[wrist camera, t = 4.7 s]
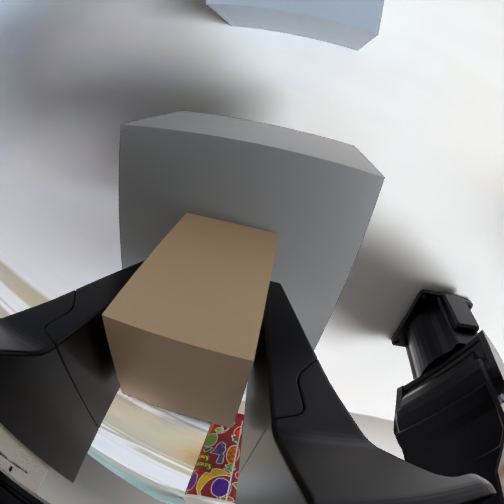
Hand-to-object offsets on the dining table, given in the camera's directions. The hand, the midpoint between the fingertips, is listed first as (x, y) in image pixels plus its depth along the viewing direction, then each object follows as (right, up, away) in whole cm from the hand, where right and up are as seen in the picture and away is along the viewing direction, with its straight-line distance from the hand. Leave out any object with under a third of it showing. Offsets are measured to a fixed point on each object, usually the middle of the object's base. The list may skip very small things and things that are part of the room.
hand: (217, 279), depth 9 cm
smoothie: (-1, -23, +28) cm, 36 cm away
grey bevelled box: (+1, +3, +6) cm, 6 cm away
